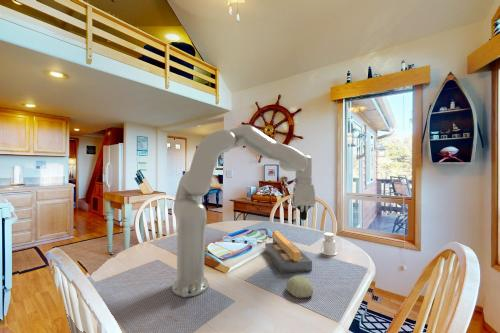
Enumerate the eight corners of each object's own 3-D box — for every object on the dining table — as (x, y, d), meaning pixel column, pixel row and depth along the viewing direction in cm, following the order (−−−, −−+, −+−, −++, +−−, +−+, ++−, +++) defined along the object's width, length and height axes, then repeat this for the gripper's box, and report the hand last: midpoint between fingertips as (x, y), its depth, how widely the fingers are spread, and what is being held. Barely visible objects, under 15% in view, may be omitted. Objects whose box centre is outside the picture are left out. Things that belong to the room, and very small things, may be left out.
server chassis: (311, 270, 94) (312, 259, 94) (280, 273, 91) (281, 262, 91) (286, 245, 123) (286, 237, 123) (262, 247, 120) (262, 238, 120)
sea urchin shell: (292, 276, 85) (306, 266, 82) (305, 296, 82) (320, 287, 78) (279, 286, 78) (294, 276, 74) (293, 309, 75) (309, 299, 71)
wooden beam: (301, 260, 93) (301, 252, 93) (293, 260, 92) (293, 252, 92) (277, 236, 122) (277, 230, 122) (271, 237, 122) (271, 230, 121)
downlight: (335, 250, 117) (335, 231, 117) (339, 256, 110) (339, 236, 110) (320, 250, 117) (319, 231, 117) (323, 256, 110) (322, 236, 110)
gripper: (291, 182, 101) (291, 222, 101) (321, 181, 104) (321, 220, 104) (285, 181, 108) (285, 218, 108) (313, 180, 111) (313, 216, 111)
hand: (303, 219), depth 106 cm, fingers closed
